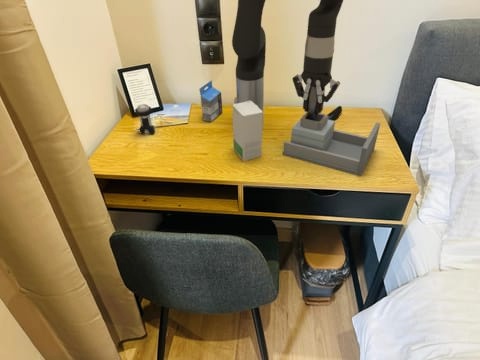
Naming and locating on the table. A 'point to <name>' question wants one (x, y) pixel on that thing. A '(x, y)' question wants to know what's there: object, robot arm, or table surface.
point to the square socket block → (313, 132)
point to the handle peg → (312, 104)
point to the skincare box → (247, 130)
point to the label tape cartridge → (210, 102)
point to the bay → (338, 151)
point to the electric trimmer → (335, 113)
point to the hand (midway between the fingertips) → (312, 111)
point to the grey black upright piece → (145, 119)
